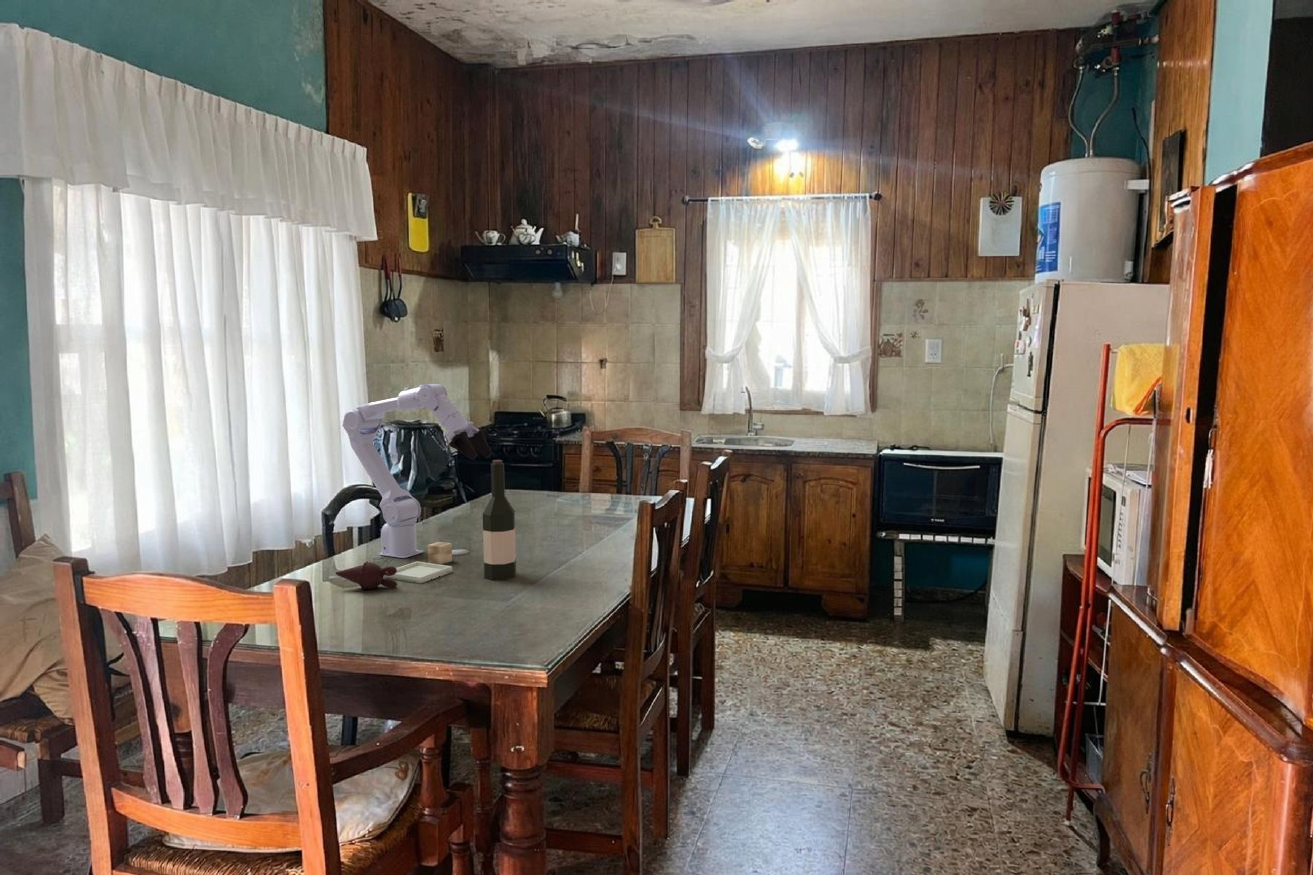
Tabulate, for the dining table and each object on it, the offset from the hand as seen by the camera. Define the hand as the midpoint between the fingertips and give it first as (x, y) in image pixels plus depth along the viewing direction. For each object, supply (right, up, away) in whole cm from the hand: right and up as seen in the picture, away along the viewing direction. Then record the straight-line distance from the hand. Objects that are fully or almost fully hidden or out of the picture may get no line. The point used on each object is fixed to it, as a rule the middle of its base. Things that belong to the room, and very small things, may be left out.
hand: (482, 456), depth 231 cm
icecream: (-24, -32, -20) cm, 45 cm away
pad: (-10, -28, +15) cm, 33 cm away
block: (-13, -29, +5) cm, 32 cm away
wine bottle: (+7, -31, -10) cm, 33 cm away
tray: (-15, -30, -8) cm, 35 cm away
